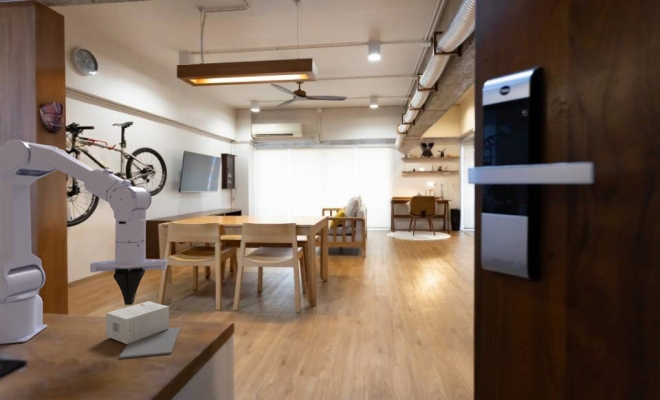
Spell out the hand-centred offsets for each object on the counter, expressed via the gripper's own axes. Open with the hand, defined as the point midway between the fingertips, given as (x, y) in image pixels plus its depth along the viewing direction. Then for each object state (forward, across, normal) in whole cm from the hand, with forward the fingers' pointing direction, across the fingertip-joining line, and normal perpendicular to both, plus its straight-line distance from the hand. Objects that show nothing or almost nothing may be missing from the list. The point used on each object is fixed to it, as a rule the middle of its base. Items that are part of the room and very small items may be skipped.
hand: (129, 303), depth 76 cm
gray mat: (+9, +5, 0) cm, 10 cm away
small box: (+6, -3, +2) cm, 7 cm away
